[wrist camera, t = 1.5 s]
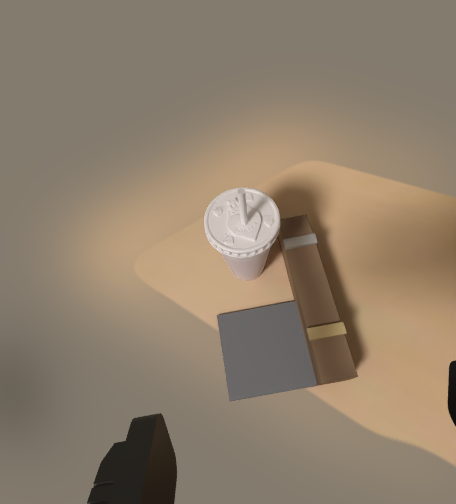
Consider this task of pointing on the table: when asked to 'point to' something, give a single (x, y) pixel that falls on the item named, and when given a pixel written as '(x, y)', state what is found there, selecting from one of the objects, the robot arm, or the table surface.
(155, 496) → the robot arm
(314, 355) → the guide rail
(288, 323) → the end pad
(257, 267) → the smoothie
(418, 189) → the table surface
